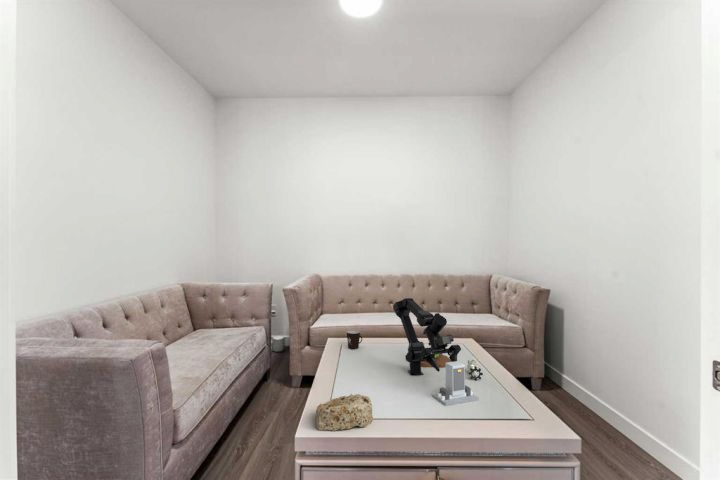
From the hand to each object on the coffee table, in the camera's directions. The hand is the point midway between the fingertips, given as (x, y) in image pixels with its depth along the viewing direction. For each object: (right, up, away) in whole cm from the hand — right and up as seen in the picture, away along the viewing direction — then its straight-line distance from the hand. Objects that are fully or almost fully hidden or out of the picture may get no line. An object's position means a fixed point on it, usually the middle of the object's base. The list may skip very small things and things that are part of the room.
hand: (448, 369), depth 157 cm
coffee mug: (-42, -12, +71) cm, 83 cm away
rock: (-44, -10, -25) cm, 51 cm away
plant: (+2, -12, +44) cm, 46 cm away
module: (+2, -8, -5) cm, 9 cm away
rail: (+2, -10, -5) cm, 11 cm away
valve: (+18, -11, +22) cm, 30 cm away
